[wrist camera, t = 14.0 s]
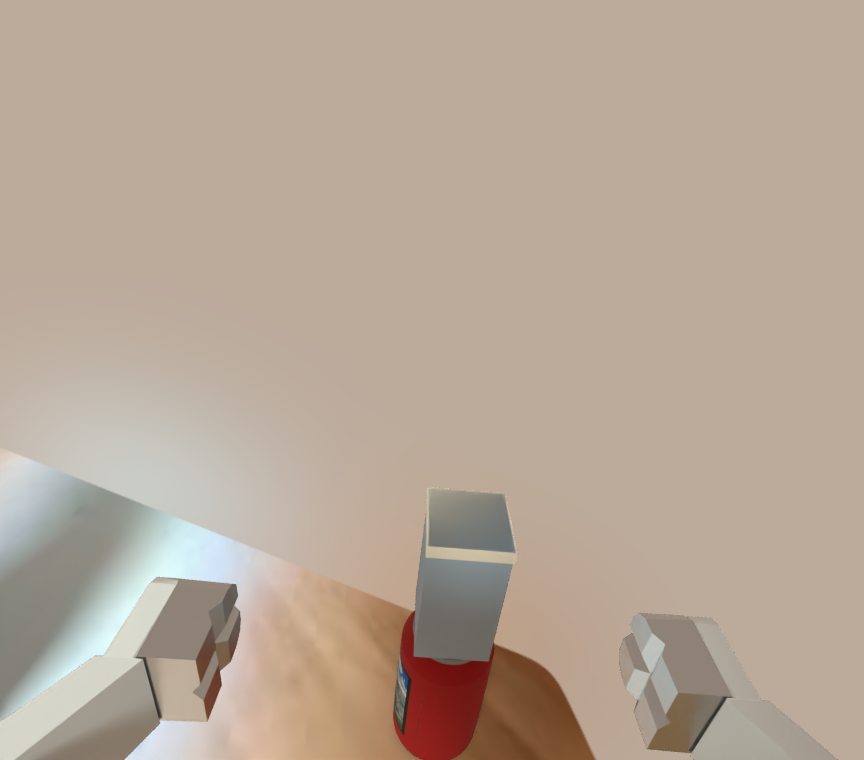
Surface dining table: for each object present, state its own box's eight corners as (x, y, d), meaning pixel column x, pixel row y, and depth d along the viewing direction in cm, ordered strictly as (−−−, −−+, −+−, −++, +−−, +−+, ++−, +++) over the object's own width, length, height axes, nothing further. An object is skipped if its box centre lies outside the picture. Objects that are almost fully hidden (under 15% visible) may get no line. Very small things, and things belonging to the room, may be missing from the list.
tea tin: (411, 657, 32) (426, 547, 27) (414, 591, 37) (427, 487, 32) (490, 663, 32) (517, 554, 28) (483, 596, 37) (505, 493, 32)
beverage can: (418, 665, 44) (432, 570, 39) (486, 706, 41) (512, 612, 36) (375, 735, 39) (384, 637, 33) (451, 788, 36) (474, 692, 30)
